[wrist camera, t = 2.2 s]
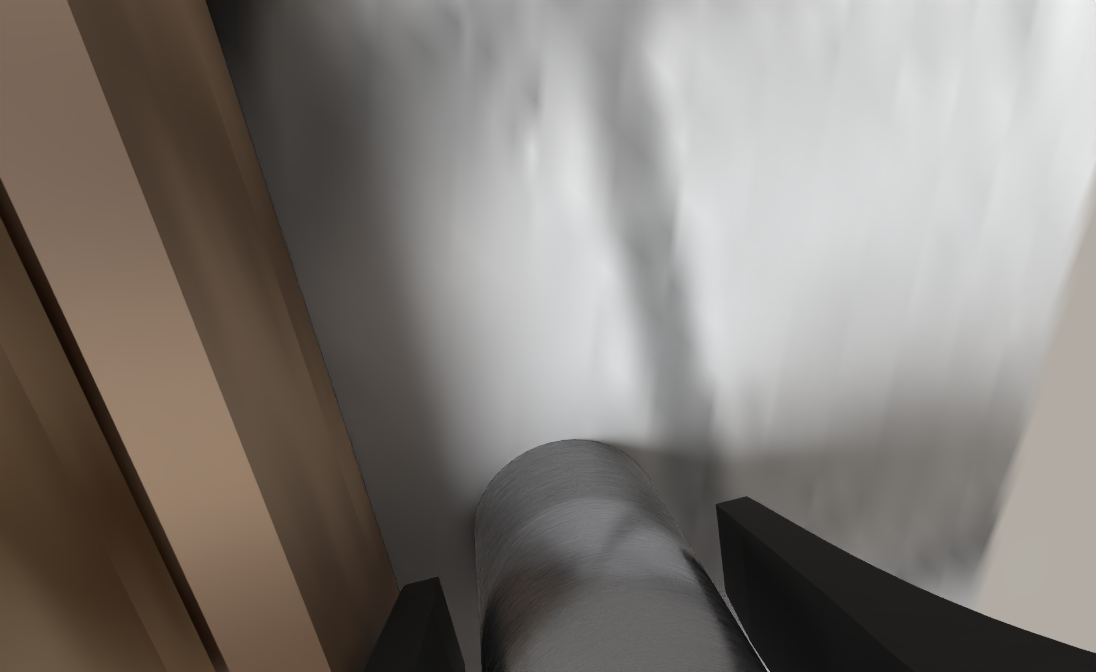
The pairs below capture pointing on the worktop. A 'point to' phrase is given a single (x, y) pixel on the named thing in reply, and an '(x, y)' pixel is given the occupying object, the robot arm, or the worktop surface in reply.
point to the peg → (593, 573)
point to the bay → (188, 326)
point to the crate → (71, 520)
